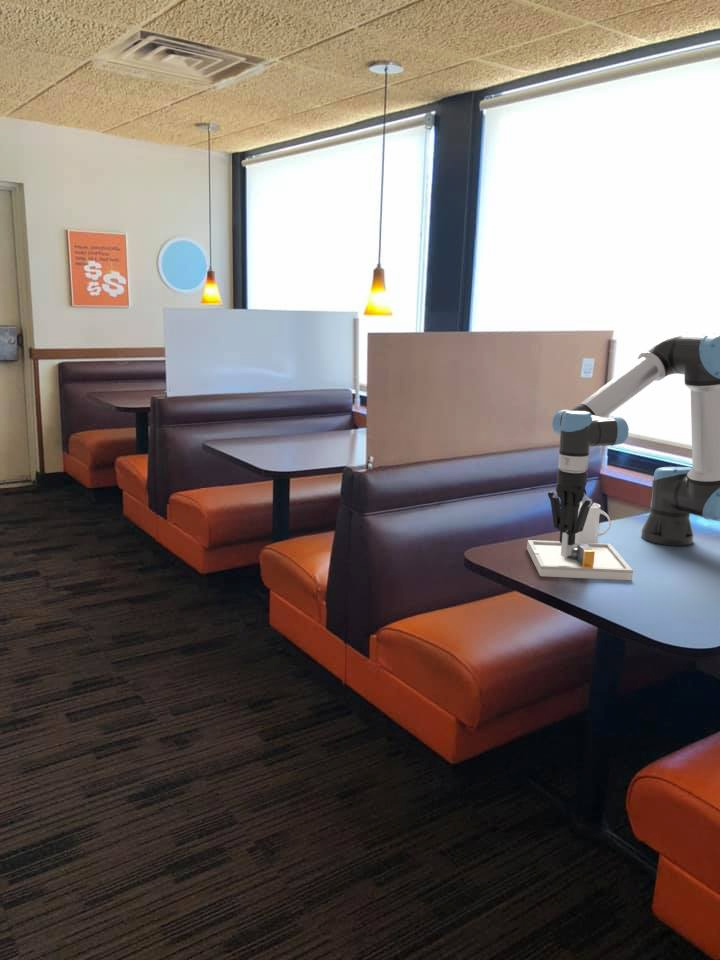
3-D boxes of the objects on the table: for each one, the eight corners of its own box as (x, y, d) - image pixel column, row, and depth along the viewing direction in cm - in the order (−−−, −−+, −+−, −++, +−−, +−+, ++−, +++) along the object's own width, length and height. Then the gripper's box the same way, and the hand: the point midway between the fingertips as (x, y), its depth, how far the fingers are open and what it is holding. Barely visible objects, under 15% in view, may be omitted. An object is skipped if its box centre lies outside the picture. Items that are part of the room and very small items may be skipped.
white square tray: (609, 552, 225) (610, 542, 224) (631, 580, 201) (633, 569, 201) (526, 549, 226) (527, 539, 226) (540, 576, 203) (541, 565, 202)
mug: (611, 543, 234) (615, 505, 232) (603, 550, 227) (607, 511, 225) (574, 536, 241) (577, 499, 238) (565, 542, 234) (568, 505, 231)
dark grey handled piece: (561, 551, 217) (562, 536, 216) (585, 551, 217) (587, 536, 216) (575, 566, 203) (576, 551, 202) (601, 567, 203) (602, 551, 203)
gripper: (543, 467, 203) (537, 552, 208) (586, 476, 194) (579, 564, 199) (559, 464, 208) (553, 547, 213) (602, 472, 199) (595, 558, 204)
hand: (566, 555), depth 206 cm, fingers closed
